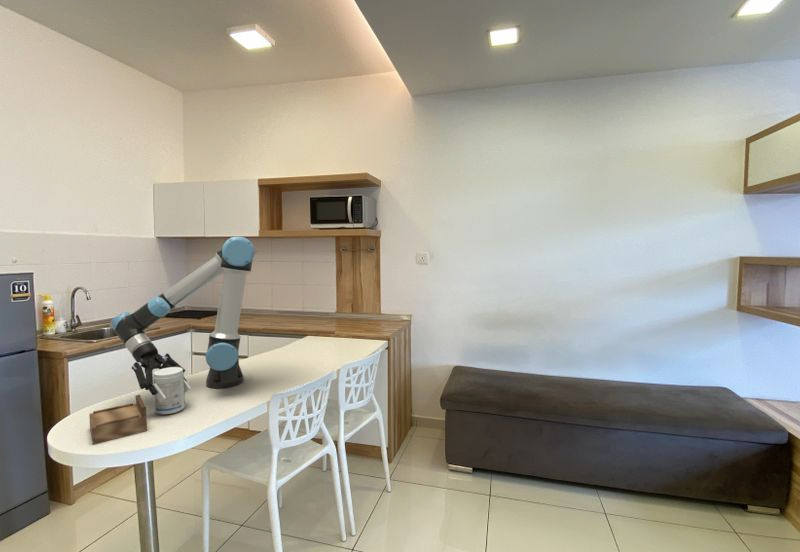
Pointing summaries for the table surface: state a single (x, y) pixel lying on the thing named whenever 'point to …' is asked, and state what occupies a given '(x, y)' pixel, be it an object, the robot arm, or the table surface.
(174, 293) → the robot arm
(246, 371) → the table surface
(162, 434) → the table surface
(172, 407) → the supplement tub
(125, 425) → the shelf
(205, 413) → the table surface
